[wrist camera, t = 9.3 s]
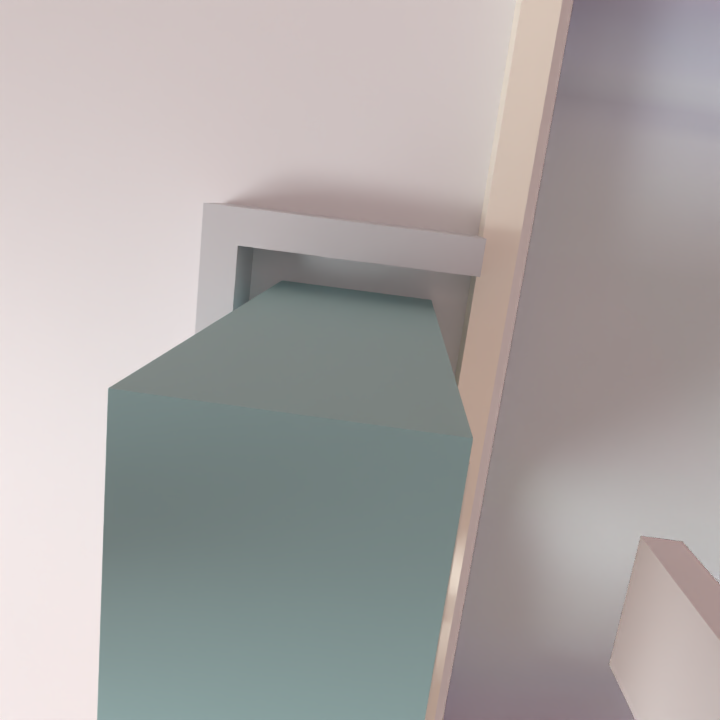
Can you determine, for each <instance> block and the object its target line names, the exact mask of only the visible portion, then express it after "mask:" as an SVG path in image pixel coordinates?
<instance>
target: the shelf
mask: <svg viewBox="0 0 720 720" xmlns="http://www.w3.org/2000/svg"><path fill="white" fill-rule="evenodd" d="M572 6H573V0H0V720H97V706H98V676H99V646H100V616H101V586H102V555H103V525H104V495H105V465H106V435H107V405H108V388H109V387H111V386H113V385H114V384H116V383H117V382H119V381H121V380H122V379H124V378H125V377H127V376H129V375H130V374H132V373H134V372H135V371H137V370H138V369H140V368H142V367H143V366H145V365H146V364H148V363H150V362H151V361H153V360H155V359H156V358H158V357H159V356H161V355H163V354H164V353H166V352H167V351H169V350H171V349H172V348H174V347H175V346H177V345H179V344H180V343H182V342H184V341H185V340H187V339H188V338H190V337H192V336H193V335H195V334H196V333H198V332H200V331H201V330H203V329H205V328H206V327H208V326H209V325H211V324H213V323H214V322H216V321H217V320H219V319H221V318H222V317H224V316H225V315H227V314H229V313H230V312H232V311H234V310H235V309H237V308H238V307H240V306H242V305H243V304H245V303H246V302H248V301H250V300H251V299H253V298H255V297H256V296H258V295H259V294H261V293H263V292H264V291H266V290H267V289H269V288H271V287H272V286H274V285H276V284H277V283H279V282H280V281H282V280H283V281H290V282H298V283H306V284H313V285H321V286H329V287H336V288H344V289H352V290H359V291H367V292H375V293H382V294H390V295H398V296H405V297H413V298H421V299H428V300H431V301H432V304H433V307H434V311H435V314H436V317H437V321H438V324H439V327H440V331H441V334H442V337H443V340H444V344H445V347H446V350H447V354H448V357H449V360H450V364H451V367H452V370H453V373H454V377H455V380H456V383H457V387H458V390H459V393H460V397H461V400H462V403H463V406H464V410H465V413H466V416H467V420H468V423H469V426H470V430H471V433H472V436H473V442H472V448H471V454H470V460H469V461H470V468H469V473H468V479H467V485H466V491H465V496H464V502H463V508H462V514H461V520H460V525H459V531H458V537H457V543H456V548H455V554H454V560H453V566H452V572H451V577H450V583H449V589H448V595H447V600H446V606H445V612H444V618H443V624H442V629H441V635H440V641H439V647H438V652H437V658H436V664H435V670H434V676H433V681H432V687H431V693H430V699H429V704H428V710H427V716H426V720H443V717H444V711H445V706H446V700H447V695H448V689H449V684H450V678H451V672H452V667H453V661H454V656H455V650H456V645H457V639H458V634H459V628H460V623H461V617H462V612H463V606H464V601H465V595H466V590H467V584H468V579H469V573H470V568H471V562H472V557H473V551H474V546H475V540H476V535H477V529H478V524H479V518H480V513H481V507H482V502H483V496H484V491H485V485H486V480H487V474H488V469H489V463H490V458H491V452H492V447H493V441H494V436H495V430H496V425H497V419H498V414H499V408H500V403H501V397H502V392H503V386H504V381H505V375H506V370H507V364H508V358H509V353H510V347H511V342H512V336H513V331H514V325H515V320H516V314H517V309H518V303H519V298H520V292H521V287H522V281H523V276H524V270H525V265H526V259H527V254H528V248H529V243H530V237H531V232H532V226H533V221H534V215H535V210H536V204H537V199H538V193H539V188H540V182H541V177H542V171H543V166H544V160H545V155H546V149H547V144H548V138H549V133H550V127H551V122H552V116H553V111H554V105H555V100H556V94H557V89H558V83H559V78H560V72H561V67H562V61H563V55H564V50H565V44H566V39H567V33H568V28H569V22H570V17H571V11H572Z"/></svg>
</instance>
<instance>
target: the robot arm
mask: <svg viewBox="0 0 720 720" xmlns="http://www.w3.org/2000/svg"><path fill="white" fill-rule="evenodd" d="M609 666H610V668H611V670H612V672H613V674H614V676H615V678H616V680H617V683H618V685H619V687H620V689H621V691H622V693H623V695H624V697H625V699H626V701H627V704H628V706H629V708H630V710H631V712H632V714H633V716H634V718H635V720H720V584H719V583H718V582H717V581H716V580H715V579H714V577H713V576H712V575H711V574H710V573H709V572H708V571H707V569H706V568H705V567H704V566H703V565H702V564H701V562H700V561H699V560H698V559H697V558H696V557H695V556H694V554H693V553H692V552H691V551H690V550H689V549H688V547H687V546H686V545H685V544H684V543H683V542H682V541H675V540H667V539H660V538H652V537H645V536H641V537H640V541H639V545H638V549H637V553H636V557H635V561H634V565H633V569H632V573H631V577H630V581H629V585H628V589H627V593H626V597H625V601H624V605H623V610H622V614H621V618H620V622H619V626H618V630H617V634H616V638H615V642H614V646H613V650H612V654H611V658H610V662H609Z"/></svg>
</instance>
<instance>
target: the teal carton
mask: <svg viewBox="0 0 720 720" xmlns="http://www.w3.org/2000/svg"><path fill="white" fill-rule="evenodd" d="M472 442H473V436H472V433H471V430H470V426H469V423H468V420H467V416H466V413H465V410H464V406H463V403H462V400H461V397H460V393H459V390H458V387H457V383H456V380H455V377H454V373H453V370H452V367H451V364H450V360H449V357H448V354H447V350H446V347H445V344H444V340H443V337H442V334H441V331H440V327H439V324H438V321H437V317H436V314H435V311H434V307H433V304H432V301H431V300H428V299H421V298H413V297H405V296H398V295H390V294H382V293H375V292H367V291H359V290H352V289H344V288H336V287H329V286H321V285H313V284H306V283H298V282H290V281H283V280H282V281H280V282H279V283H277V284H276V285H274V286H272V287H271V288H269V289H267V290H266V291H264V292H263V293H261V294H259V295H258V296H256V297H255V298H253V299H251V300H250V301H248V302H246V303H245V304H243V305H242V306H240V307H238V308H237V309H235V310H234V311H232V312H230V313H229V314H227V315H225V316H224V317H222V318H221V319H219V320H217V321H216V322H214V323H213V324H211V325H209V326H208V327H206V328H205V329H203V330H201V331H200V332H198V333H196V334H195V335H193V336H192V337H190V338H188V339H187V340H185V341H184V342H182V343H180V344H179V345H177V346H175V347H174V348H172V349H171V350H169V351H167V352H166V353H164V354H163V355H161V356H159V357H158V358H156V359H155V360H153V361H151V362H150V363H148V364H146V365H145V366H143V367H142V368H140V369H138V370H137V371H135V372H134V373H132V374H130V375H129V376H127V377H125V378H124V379H122V380H121V381H119V382H117V383H116V384H114V385H113V386H111V387H109V388H108V405H107V435H106V465H105V495H104V525H103V555H102V586H101V616H100V646H99V676H98V706H97V720H426V716H427V710H428V704H429V699H430V693H431V687H432V681H433V676H434V670H435V664H436V658H437V652H438V647H439V641H440V635H441V629H442V624H443V618H444V612H445V606H446V600H447V595H448V589H449V583H450V577H451V572H452V566H453V560H454V554H455V548H456V543H457V537H458V531H459V525H460V520H461V514H462V508H463V502H464V496H465V491H466V485H467V479H468V473H469V468H470V461H469V460H470V454H471V448H472Z"/></svg>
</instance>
